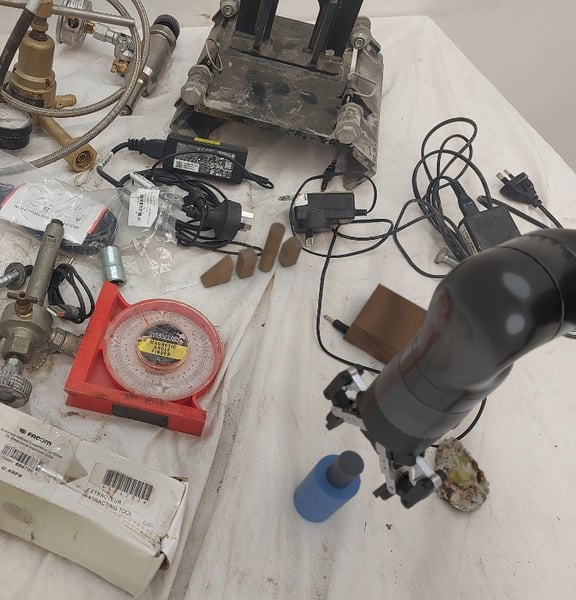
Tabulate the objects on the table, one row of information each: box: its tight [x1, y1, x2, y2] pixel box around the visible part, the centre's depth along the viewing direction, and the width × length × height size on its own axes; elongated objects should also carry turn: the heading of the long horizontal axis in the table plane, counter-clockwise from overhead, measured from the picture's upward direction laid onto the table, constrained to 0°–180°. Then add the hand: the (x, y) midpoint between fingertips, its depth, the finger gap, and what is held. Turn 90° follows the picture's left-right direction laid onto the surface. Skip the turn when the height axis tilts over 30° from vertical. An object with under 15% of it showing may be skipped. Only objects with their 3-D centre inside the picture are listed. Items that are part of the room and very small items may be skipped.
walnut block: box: [343, 283, 428, 366], centre depth 94 cm, size 10×10×5 cm
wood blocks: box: [161, 221, 304, 294], centre depth 96 cm, size 25×3×10 cm, turn 111°
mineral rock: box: [434, 436, 491, 513], centre depth 82 cm, size 11×4×8 cm
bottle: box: [293, 449, 365, 523], centre depth 73 cm, size 6×6×16 cm
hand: (356, 457), depth 65 cm, fingers open, 8 cm apart
